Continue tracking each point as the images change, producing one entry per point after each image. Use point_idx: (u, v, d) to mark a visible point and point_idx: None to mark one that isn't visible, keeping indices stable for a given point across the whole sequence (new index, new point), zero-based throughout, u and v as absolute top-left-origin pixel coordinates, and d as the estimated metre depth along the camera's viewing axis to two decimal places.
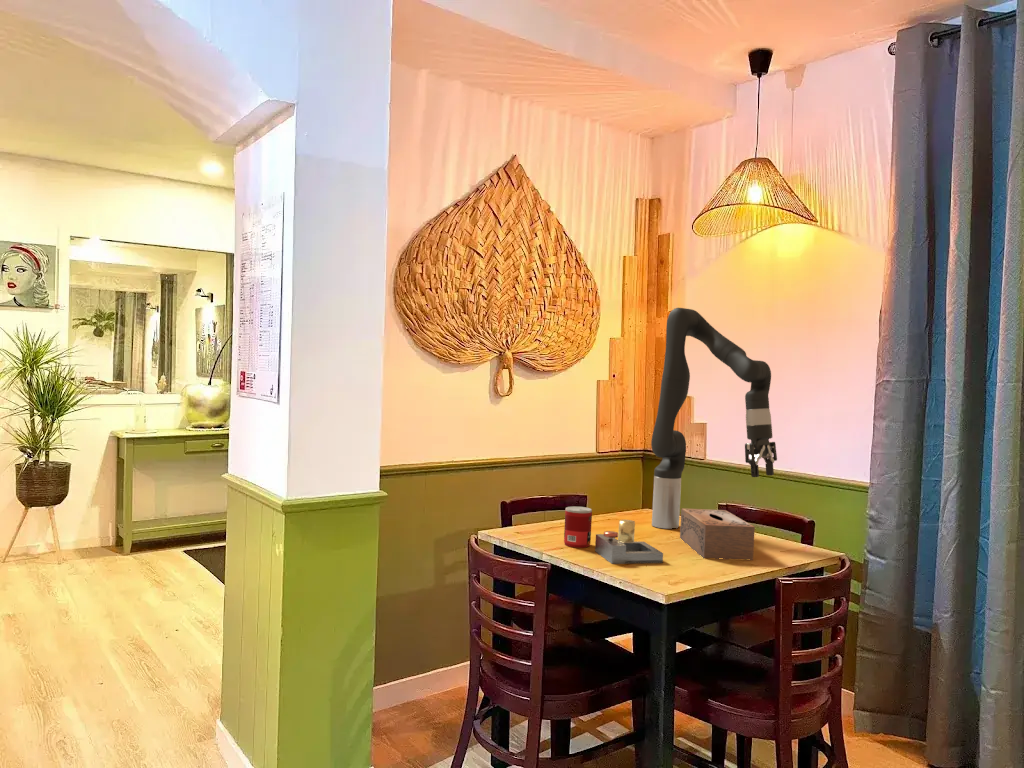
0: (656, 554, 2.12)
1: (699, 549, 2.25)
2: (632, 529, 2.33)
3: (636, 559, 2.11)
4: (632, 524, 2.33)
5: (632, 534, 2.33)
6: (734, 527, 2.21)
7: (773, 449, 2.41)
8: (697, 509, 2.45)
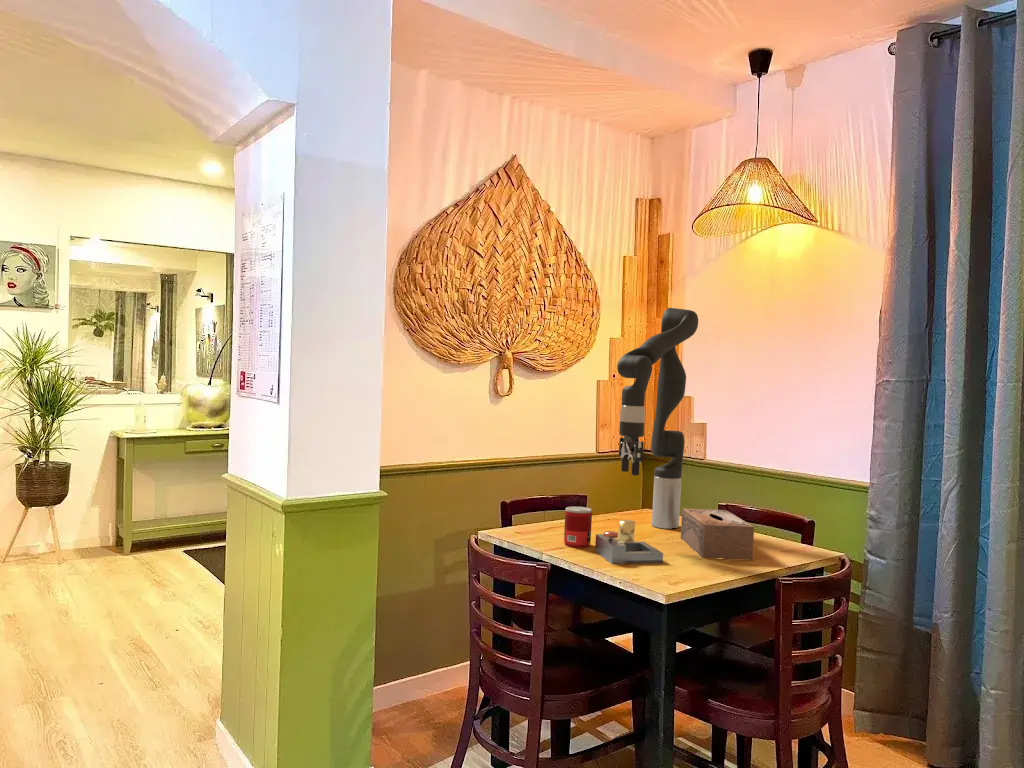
0: (656, 554, 2.12)
1: (698, 549, 2.25)
2: (632, 529, 2.33)
3: (636, 559, 2.11)
4: (632, 524, 2.33)
5: (632, 534, 2.33)
6: (733, 527, 2.21)
7: None
8: (698, 509, 2.45)
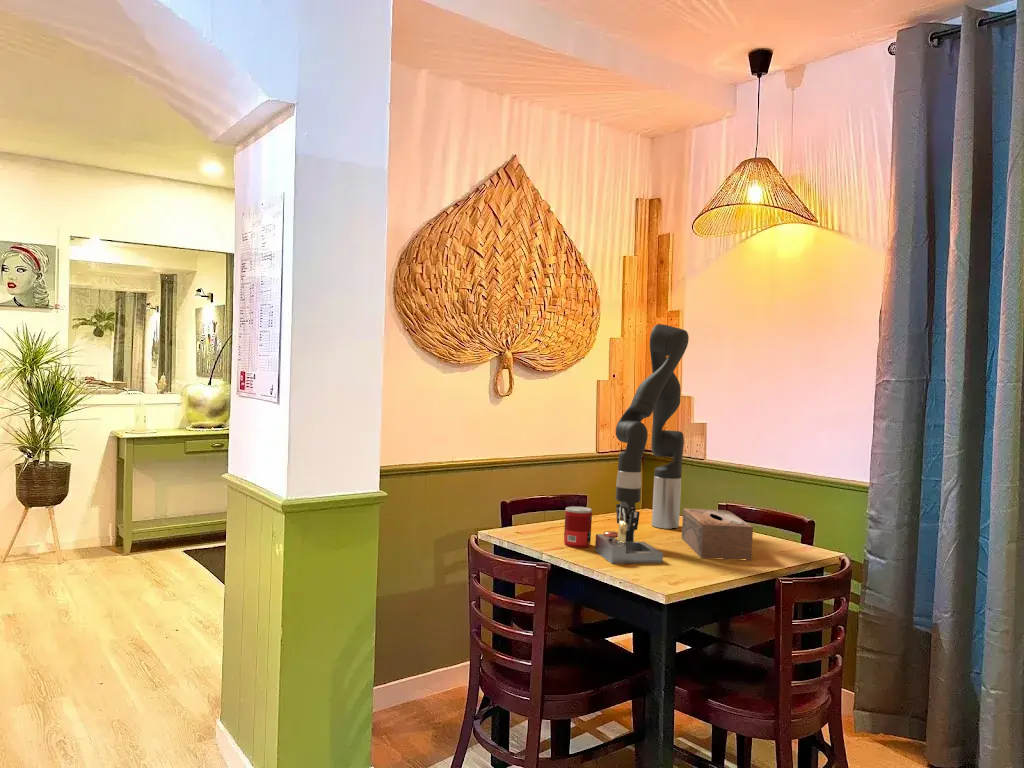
0: (656, 554, 2.12)
1: (697, 549, 2.25)
2: None
3: (636, 559, 2.11)
4: None
5: None
6: (732, 527, 2.21)
7: None
8: (699, 509, 2.46)
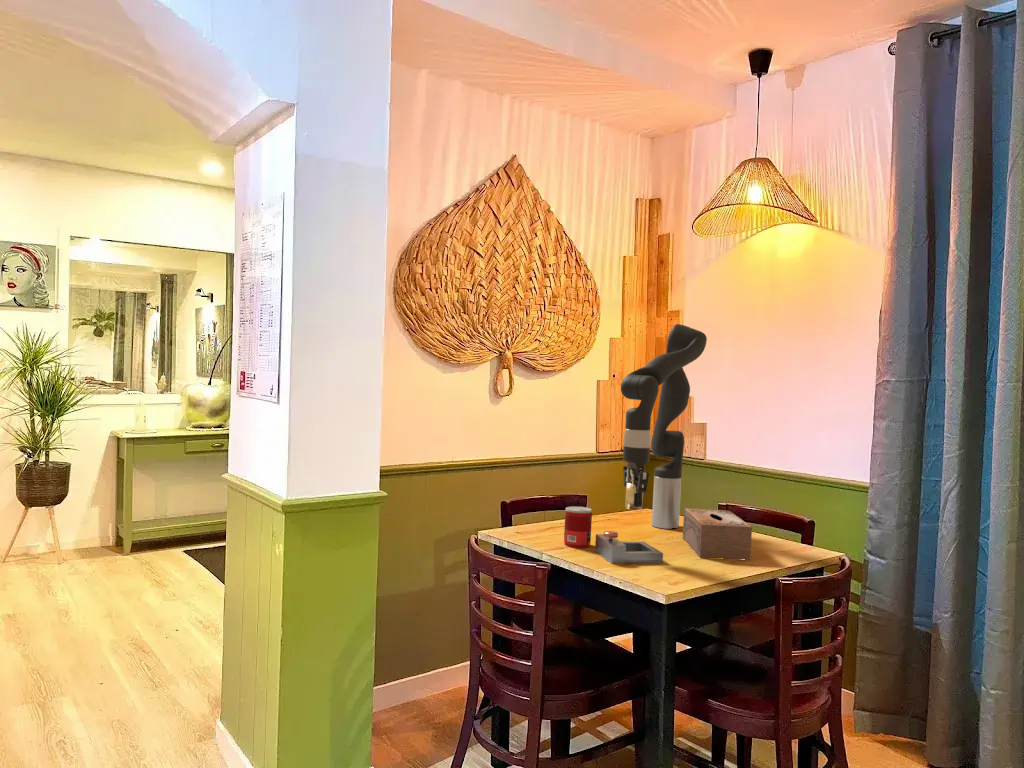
0: (656, 554, 2.12)
1: (696, 548, 2.25)
2: None
3: (636, 559, 2.11)
4: (640, 486, 2.16)
5: None
6: (731, 527, 2.21)
7: None
8: (700, 509, 2.46)
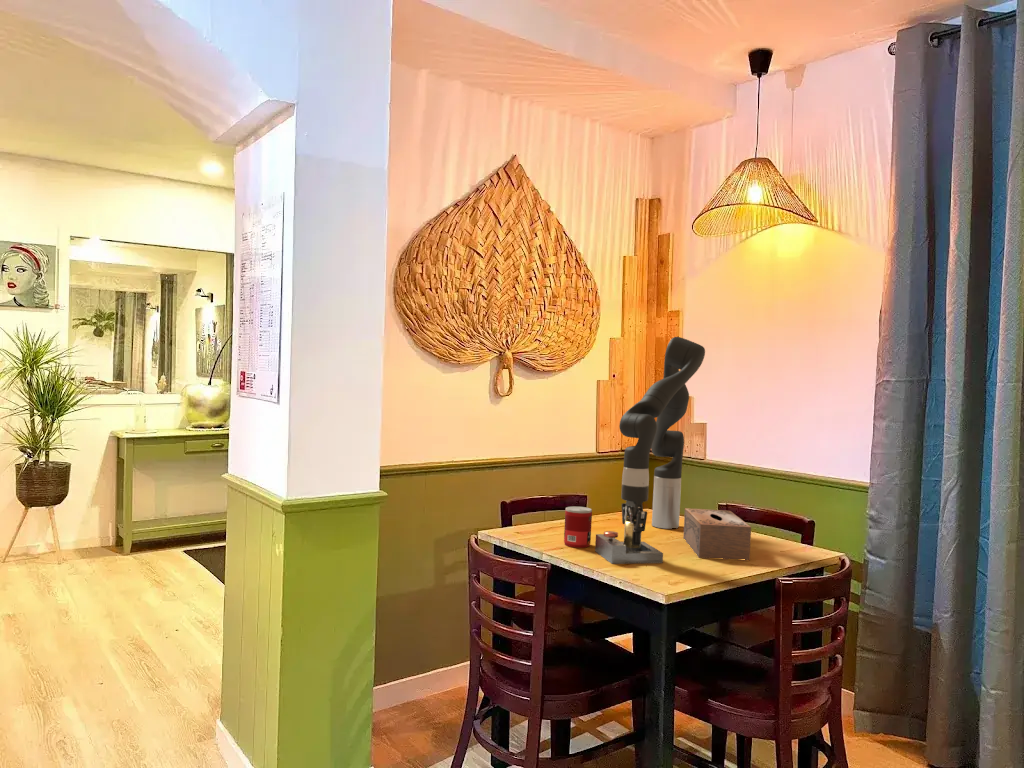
0: (656, 554, 2.12)
1: (696, 548, 2.25)
2: None
3: (636, 559, 2.11)
4: None
5: None
6: (730, 527, 2.20)
7: None
8: (701, 509, 2.46)
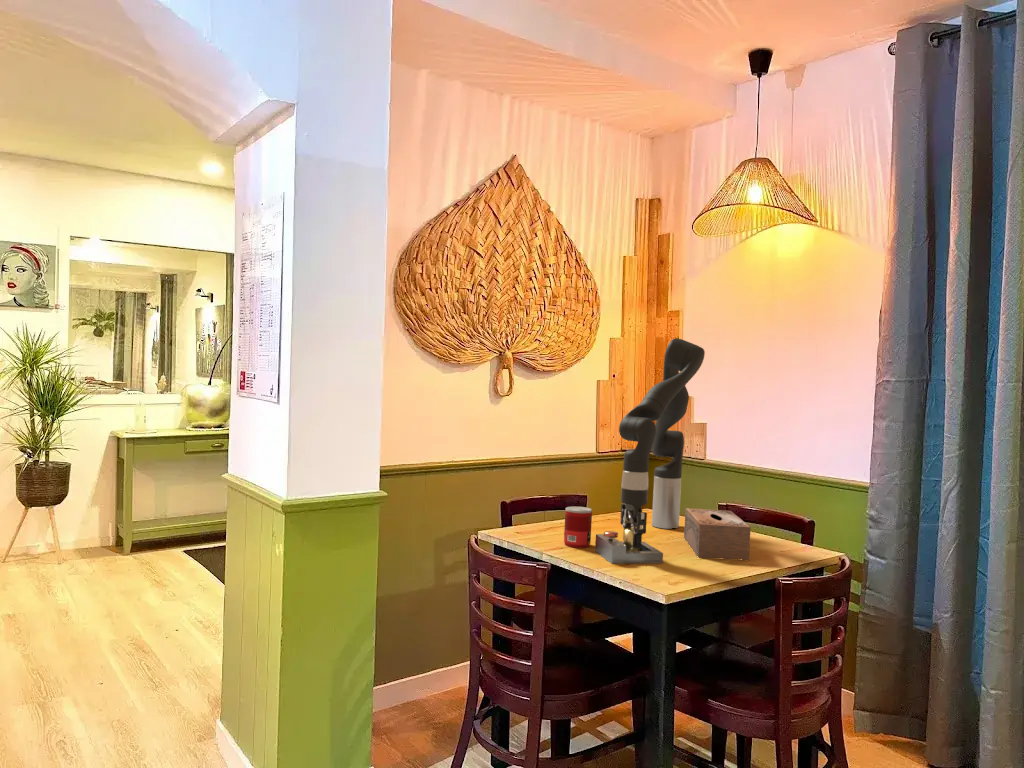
0: (656, 554, 2.12)
1: (695, 548, 2.26)
2: None
3: (636, 559, 2.11)
4: None
5: None
6: (729, 527, 2.20)
7: None
8: (701, 509, 2.46)
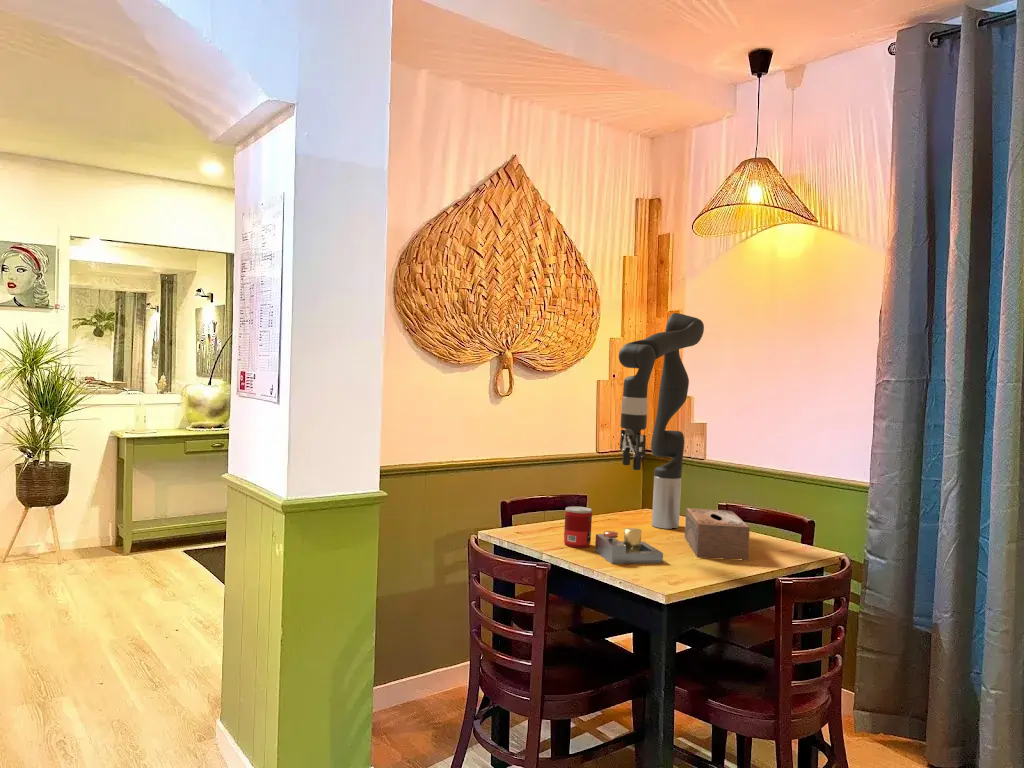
0: (656, 554, 2.12)
1: (694, 548, 2.26)
2: (638, 539, 2.16)
3: (636, 559, 2.11)
4: (638, 533, 2.16)
5: (639, 544, 2.16)
6: (728, 527, 2.20)
7: None
8: (702, 509, 2.46)
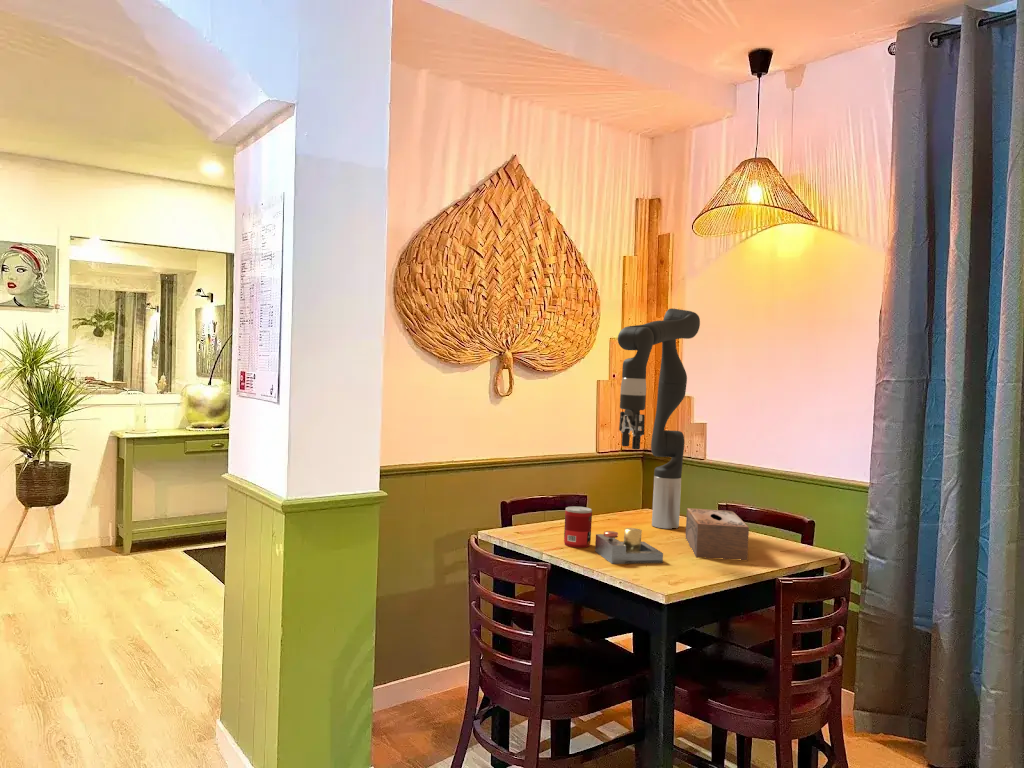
0: (656, 554, 2.12)
1: (694, 548, 2.26)
2: (638, 539, 2.16)
3: (636, 559, 2.11)
4: (638, 533, 2.16)
5: (639, 544, 2.16)
6: (727, 527, 2.20)
7: None
8: (703, 509, 2.46)
